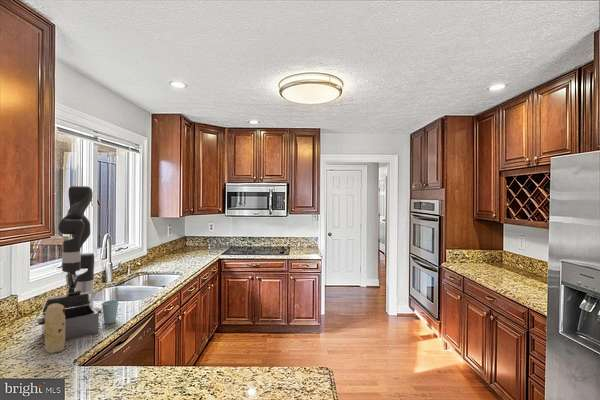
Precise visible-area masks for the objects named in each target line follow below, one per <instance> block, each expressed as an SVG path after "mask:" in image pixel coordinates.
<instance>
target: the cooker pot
mask: <svg viewBox="0 0 600 400" xmlns="http://www.w3.org/2000/svg"><path fill="white" fill-rule="evenodd" d="M41 313H42V312H41ZM100 314H103V310H101V309H100V308H99V307H97V308H94V307H93V308H92V307H91V306H90V305H85V306H79V307H72V308H66V309H65V342H67V341H72V340H76V339H81V338H84V337H90V336H93V335H97V334H99V323H100V321H99V317H100V316H99V315H100ZM36 322H37V324H38V325H39V326H42V327H41V328H42V331H41V332H42V335H44V336H43V338H45V312H44V313H42V318H38V319H36Z"/></svg>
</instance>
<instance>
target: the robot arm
mask: <svg viewBox="0 0 600 400" xmlns="http://www.w3.org/2000/svg"><path fill="white" fill-rule="evenodd" d="M92 200H93V188H92V187H91V186H88V185H87V186H86V185H70V186H69V187H68V202H69V209H68V210H67V214H66V215H65V216H64V217H63V218H62V219H61V220H60V221H59V224H58V228H57V230H58V231H59V233H60V234H61V235H71V238H67V239H64V240H63V242H62V256H61V258H62V259H61V260H62V261H61V270H62V271H61V272H63V273H66V274H65V281H66V288H67V289H68V290H67V293H68V292H74V291H81V293H82V292H88V291H95V289H94V288H95V284H94V282H95V280H94V279H95V278H94V277H95V275H94V274H95V273H94V272H95V269H94V268H95V254H94V253H93V252H81V248H82V247H83V245H84V244H85V242H86V241H87V240H88V238H89V237H90V235H91V223H90V222H91V221H89V218H88V217H87V216H86V215H85V212H86V210H87V209H88V207H89V205H90V204H91V202H92ZM85 269H86V270H85ZM80 270H85V271H84V272H82V273H80V274H76V272H79V271H80ZM94 298H95V297H94ZM94 298H93V300H92V302H91V303H90V304H89V305H90V306H91V307H92V308H94V306H95V305H94ZM83 306H85V305H83ZM78 307H79V306H78Z"/></svg>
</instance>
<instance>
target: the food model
mask: <svg viewBox="0 0 600 400" xmlns="http://www.w3.org/2000/svg"><path fill="white" fill-rule="evenodd" d="M44 313H45V337H44V347H45V351H46V353H48V354H54V353H59V352H62V351H63V350H64V349H65V344H66V341H65V307H64V306H63V305H61V304H58V303H54V304H51V305H49V306H48V307H47V310H46V312H44Z"/></svg>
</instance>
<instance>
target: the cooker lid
mask: <svg viewBox="0 0 600 400" xmlns="http://www.w3.org/2000/svg"><path fill="white" fill-rule="evenodd" d="M97 294H98V289H97V290H95V289H94V291H88V292H82V293H81V291H75V290H74V292H68V291H67V294H65V295H64V294H63V295H56V296H50V297H46V300H45V302H44V304H43V307H42V310H41V313H45V312H46V310H47V307H48V306H49V305H51V304H54V303H58V304H61V305H63V306H64V307H65V309H68V308H73V307H78V306H83V305H89V304H90V303H91V302H92V300H93V298H95V297H96V295H97Z"/></svg>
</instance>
